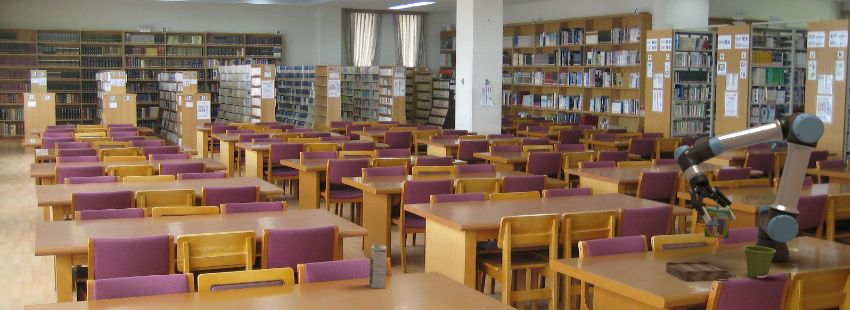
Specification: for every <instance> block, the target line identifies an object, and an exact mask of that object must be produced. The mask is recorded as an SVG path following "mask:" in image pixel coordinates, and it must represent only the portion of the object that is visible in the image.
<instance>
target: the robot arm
mask: <svg viewBox="0 0 850 310" xmlns="http://www.w3.org/2000/svg"><path fill="white" fill-rule="evenodd" d="M824 133H825V125H824V122H823V121H822V119H821V118H820V117H819V116H817V115H815V114H813V113H811V112H810V113H809V112H801V111H800V112H795V113H791V114H789V115H787V116H786V115H785V116H783V117H780V118H776V119H774V121H773V122H769V123H765V124H761V125H760V124H759V125H756V126H755V125H754V126H752V127H746V128H743V129H739V130H735V131H731V132H726V133H722V134H718V135H714V136H710V137H701V138H699V139H697V140H696V141H695V143H694V146H693V147H690V146H689V145H687V144H685V145H681V146H679V147H677V148H676V149H675V150H674V152H673V156H674V159H675V161H676V162H677V164H678V166H679V168H680V170H681V171H682V173H683V175H684V177H685V178H686V180H687V182H688V185H689V186H690V188H689V189H688V193H689V195H690V202H691V208H692V210H694V211H696V212H698V213H699V215H700V216H701V217H702V219H703V221H704V223H705V224H708V223H709V222H710V221H711V218H710V216H709V215H708V213H707V211H706V209H707V208H706V207H705V206H703V202H704V199H710V200H712V201H714V202H715V203H716V199H717V202H718V206H719V207H723V208H730V219H729V223H733V222H734V221H735V220H736V219H737V218H736V216H735V215H734V213H733V210H732V209H731V207H730V206H731V205H732V204H733V202H732V201H731V200H730V199H729V198H728V197H726V195H725V194H724V193H722V191H721V190H720V189H719V188H718V186H717V185H715V186H713V187H712V186H711V185H710V180H709V178H708V176H707V174H706V172H705V171H704V170H703V168H702V166H701V164H703V163H704V162H707V161H708V160H711V159H713V158H716V157H718V156H720V155H721V154H723V153H724V152H727V151H732V150H737V149H740V148H742V149H743V148H745V147H750V146H754V145H759V144H764V143H769V142H771V141H773V142H774V141H777V140H778V141H786V144H787V145H788V151H787V155H786V159H785V163H784V166H783V170H782V173H781V177H780V182H779V187H778V191H777V193H776V198H775V201H774V203H772V204H770V205H761V206H760V207H759V209H758V210H759V211H758V222H757V240H756V242H755V244H754V246H761V247H767V248H772V249H774V250H776V252H774V256H773V258H772V261H771V263H772V262H776V263H783V262H789V261H790V256H791V255H790V252H789V251H790V250H789V247H788V243H787V242H789V241H792V240H794V238H796V236H797V235H798V233H799V224H798V221H799V217H800V211H799V210H798V204H799V202H800V201H799V200H800V196H801V192H802V188H803V184H804V182H805V177H806V174H807V170H808V166H809V162H810V158H811V154H812V152H813V151H815V150H817V147H818V144H819V140H821V138H822V137H823V136H824Z"/></svg>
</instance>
